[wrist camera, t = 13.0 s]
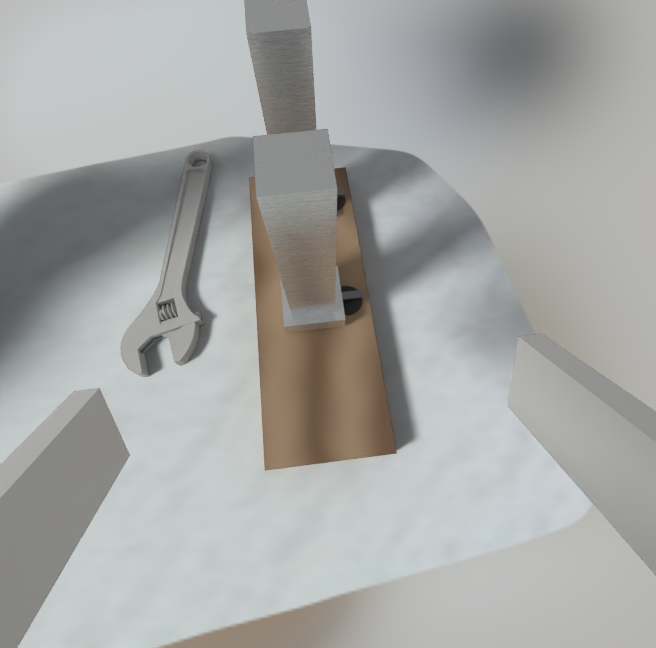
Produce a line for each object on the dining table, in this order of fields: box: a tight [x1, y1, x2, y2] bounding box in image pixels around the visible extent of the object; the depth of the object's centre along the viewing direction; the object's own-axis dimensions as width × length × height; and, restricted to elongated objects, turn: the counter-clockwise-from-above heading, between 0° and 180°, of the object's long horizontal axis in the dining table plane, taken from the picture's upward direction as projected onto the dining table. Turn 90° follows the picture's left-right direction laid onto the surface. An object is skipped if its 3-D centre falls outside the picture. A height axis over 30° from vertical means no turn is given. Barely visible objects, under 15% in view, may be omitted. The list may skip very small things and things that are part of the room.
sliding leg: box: [253, 129, 362, 333], centre depth 23 cm, size 7×5×16 cm
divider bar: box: [249, 168, 396, 470], centre depth 32 cm, size 10×28×2 cm, turn 7°
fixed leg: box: [244, 0, 344, 199], centre depth 27 cm, size 7×5×16 cm
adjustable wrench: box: [121, 150, 212, 377], centre depth 34 cm, size 25×6×2 cm, turn 174°
